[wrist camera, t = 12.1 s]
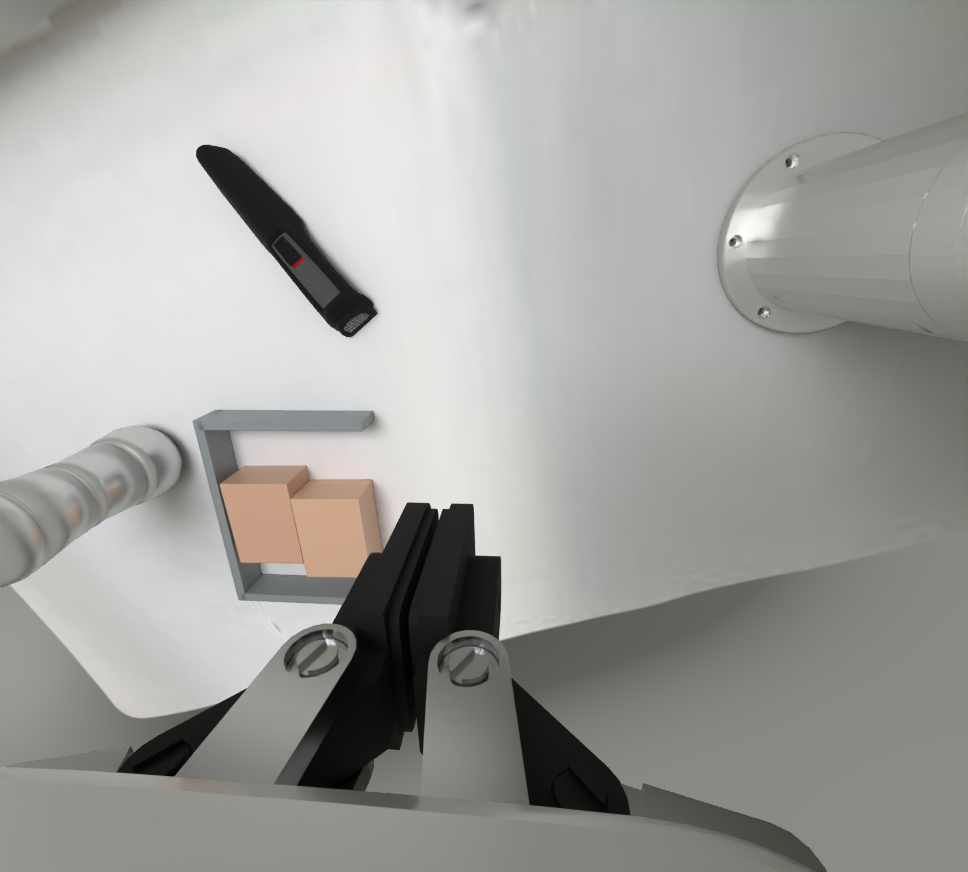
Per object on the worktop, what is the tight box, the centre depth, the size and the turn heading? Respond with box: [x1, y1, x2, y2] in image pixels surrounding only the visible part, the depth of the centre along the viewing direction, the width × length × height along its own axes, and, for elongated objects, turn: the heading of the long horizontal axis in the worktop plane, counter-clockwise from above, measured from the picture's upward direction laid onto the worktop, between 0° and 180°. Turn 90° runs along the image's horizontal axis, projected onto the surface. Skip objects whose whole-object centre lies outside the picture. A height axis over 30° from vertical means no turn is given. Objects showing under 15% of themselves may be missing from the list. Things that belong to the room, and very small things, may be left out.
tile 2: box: [290, 479, 383, 577], centre depth 42 cm, size 6×8×4 cm
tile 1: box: [220, 466, 309, 564], centre depth 42 cm, size 6×8×4 cm
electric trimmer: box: [196, 145, 377, 337], centre depth 34 cm, size 4×16×3 cm, turn 39°
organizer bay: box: [193, 410, 374, 605], centre depth 42 cm, size 14×18×3 cm
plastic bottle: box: [0, 426, 182, 587], centre depth 34 cm, size 6×7×20 cm
